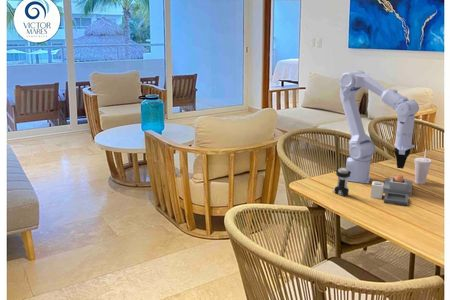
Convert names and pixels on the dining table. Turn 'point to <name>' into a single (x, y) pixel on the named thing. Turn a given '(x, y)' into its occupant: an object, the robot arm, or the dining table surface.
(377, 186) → the block
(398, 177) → the button
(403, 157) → the robot arm
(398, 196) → the tray
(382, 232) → the dining table surface
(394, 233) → the dining table surface
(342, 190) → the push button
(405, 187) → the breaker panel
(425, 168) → the smoothie
